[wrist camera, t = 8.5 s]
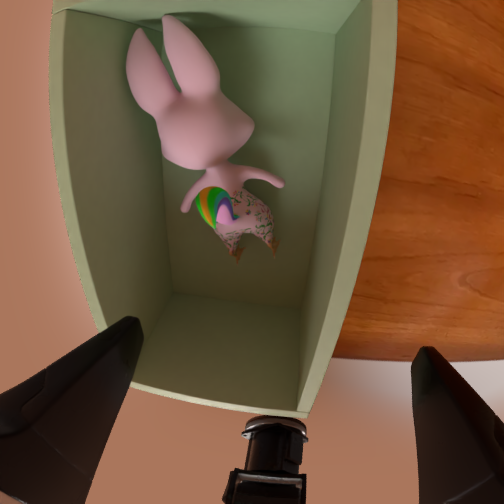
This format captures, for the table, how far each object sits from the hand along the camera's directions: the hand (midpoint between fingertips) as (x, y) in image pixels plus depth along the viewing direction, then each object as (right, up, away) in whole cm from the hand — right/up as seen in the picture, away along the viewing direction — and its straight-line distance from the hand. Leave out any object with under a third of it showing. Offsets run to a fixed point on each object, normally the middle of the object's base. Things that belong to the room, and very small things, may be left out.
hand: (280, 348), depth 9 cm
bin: (-2, +8, +10) cm, 13 cm away
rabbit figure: (-3, +9, +8) cm, 12 cm away
